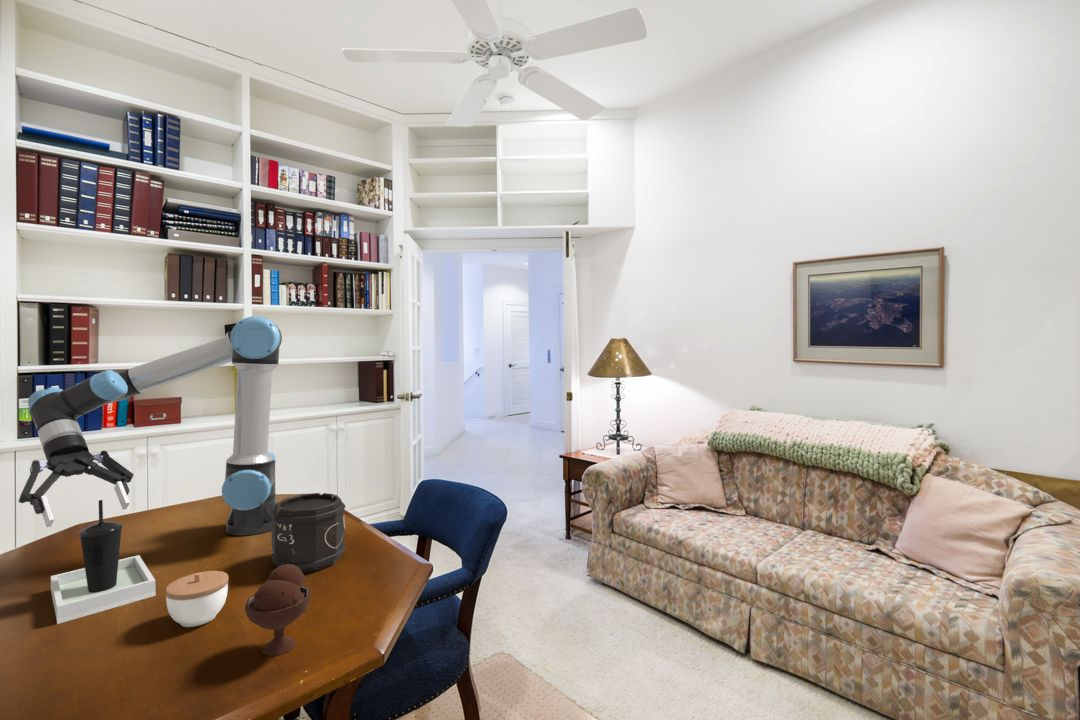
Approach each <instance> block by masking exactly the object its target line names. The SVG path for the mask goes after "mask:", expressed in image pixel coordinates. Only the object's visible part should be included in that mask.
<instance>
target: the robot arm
mask: <svg viewBox="0 0 1080 720" xmlns="http://www.w3.org/2000/svg"><path fill="white" fill-rule="evenodd" d="M282 337H283V335H282V332H281V329H280V328H279V327H278V325H277V324H276V323H274V322H273V321H271V320H270V319H268V318H266V317H263V316H257V315H256V316H248V317H245V318H243V319H241V320H239V321H238V322H236V324H235V325H234V326H233V328H232V330H231V331H228V332H226V333H225V336H224V337H222V338H219V339H215V340H211V341H209V342H205V343H203V344H200V345H197V346H194V347H191V348H188V349H185V350H182V351H179V352H176V353H172V354H170V355H167V356H164V357H161V358H157V359H154V360H151V361H149V362H146V363H142V364H140V365H136V366H135V367H134V366H133V367H131V368H128V369H125V370H121V371H118V372H116V371H115V370H111V369H106V370H104V371H102V372H99V373H96V374H93V375H92V376H91V377H89V378H86V379H85V380H82V381H80V382H78V383H76V384H73V385H72V386H70V387H68V388H65V389H62V388H59V387H48V388H46V389H39V390H37V391H34V392H33V393H32V394H31V395H30V396H29V397H28V399H27V404H28V405H27V406H28V410H29V415H30V417H31V419H32V421H33V424H34V426H35V429H36V432H37V435H38V438H39V441H40V445H41V447H42V448H43V453H44V456H45V459H46V461H43V462H41V461H40V460H32V462H31V463H30V464H31V465H30V467H29V472H30V474H29V476H28V478H27V480H26V482H25V485H24V486H23V489H22V491H21V492H20V496H19V498H18V503H20V504H24V503H27V502H28V503H29V504H30V505H31V506H32V507H33V510H34V513H35V514H36V515H42V518H43V522H44V524H45V527H46V528H50V527H52V525H53V523H54V521H55V518H54V515H53V512H52V510H51V509H52V508H51V506H50V503H49V500H48V496H47V495H45V494H46V493H48V491H49V489H50V488H51V487H52V486H53V485H54V484H55V483H56V482H57V481H58V480H59V478H60V477H65V478H68V477H71V476H81V475H83V474H86V475H89V476H91V475H92V476H94V477H97V478H99V479H101V480H104V481H105V482H108V483H110V484H112V485H115V486H114V487H113V489H114V492H115V493H116V496H117V500H118V501H119V504H120V506H121V509H122V510H127V508H128V507H129V506H130V503H131V502H130V500H129V497H128V496H129V493H130V488H129V486H128V483H131V481H132V479H133V477H134V473H133V472H131V471H130V470H129V469H127V468H126V467H124V466H123V465H122V464H121V463H119V462H118V461H116V460H115V459H114V458H112V457H111V456H110V454H109V453H108V451H107V450H102V451H100V453H97V454H92V453H91V452H90V450H89V448H88V444H87V442H86V440H85V437H84V434H83V431H82V430H81V427H80V424H79V421H78V418H80V417H82V416H84V415H86V414H89V413H90V412H92V411H94V410H97V409H98V408H100V407H102V406H105V405H109V404H112V403H115V402H122V401H126V400H127V399H130V398H131V397H134V396H136V395H140V394H142V393H145V392H148V391H151V390H154V389H157V388H160V387H163V386H166V385H168V384H171V383H175V382H176V381H180V380H182V379H186V378H189V377H191V376H195V375H197V374H200V373H204V372H206V371H208V370H212V369H215V368H218V367H220V366H222V365H226V364H230V363H231V365H233V366H234V367H235V368H236V371H237V376H236V377H237V379H236V394H235V395H236V396H235V413H234V428H233V430H234V432H233V447H232V448H233V449H232V454H231V455H230V456H229V457H228V458H226V461H225V475H224V482H223V483H222V486H221V496H222V499H223V501H224V503H225V504H226V505H228V506H229V507H230V508H231V509H230V512H229V515H228V518H227V521H226V525H225V528H226V529H225V531H226V533H227V534H229V535H232V536H249V535H251V536H252V535H258V534H262V533H266V532H269V531H272V515H271V511H272V510H273V509H274V507H275V504H277V503H278V502H277V499H276V463H277V461H276V456H275V455H276V454H274V453H273V452H270V451H269V452H268V450H269V448H268V447H269V432H270V431H269V429H270V415H271V414H270V413H271V412H270V411H271V400H272V399H271V395H272V379H273V378H272V376H273V371H274V369H276V368H277V367H279V361H280V360H279V359H280V347H281V345H282V341H283V338H282ZM95 461H96V462H95ZM99 464H101V465H102V466H101V465H99ZM44 469H47V470H49V471H51V473H50V474H49V476H48V477H47V478H45V480H44V481H43V483H42V484H41V485H40V486H39V487H38V488H37V489H36V490H35V491H34V492H33V493H31V492H32V489H33V488H34V485H35V483H36V480H37V478H38V475H39V473H41V472H43V471H44Z"/></svg>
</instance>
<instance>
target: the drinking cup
mask: <svg viewBox="0 0 1080 720" xmlns="http://www.w3.org/2000/svg"><path fill="white" fill-rule="evenodd" d="M103 505H104V504H103V499H100V500H98V522H94V523H93V524H92V523H91V524H89V525H88V526H87V527H83V528H82V529H81V530H79V531H78V532H77V533H78V536H79V537H80V543H81V549H82V551H81V552H82V557H83V564H84V568H85V572H86V578H87V585H88V591H89V592H92V593H94V592H101V591H105V590H108V589H111V588H113V587H114V586H116V583H117V572H118V561H119V560H120V559H119V558H120V548H121V540H122V539H121V536H122V528H123V527H124V523H122V522H117V521H110V520H109V521H104V510H103V509H104V508H103V507H104V506H103Z"/></svg>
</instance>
